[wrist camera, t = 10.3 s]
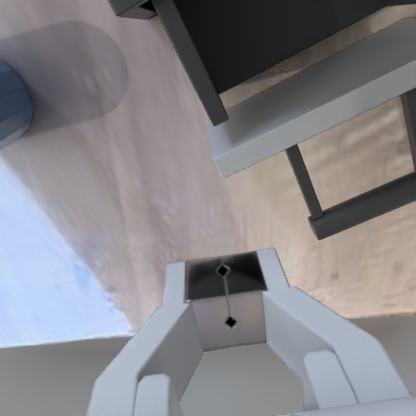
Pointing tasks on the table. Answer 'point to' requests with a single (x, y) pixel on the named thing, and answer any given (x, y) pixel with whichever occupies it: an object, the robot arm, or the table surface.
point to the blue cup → (13, 105)
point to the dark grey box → (133, 8)
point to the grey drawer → (295, 85)
